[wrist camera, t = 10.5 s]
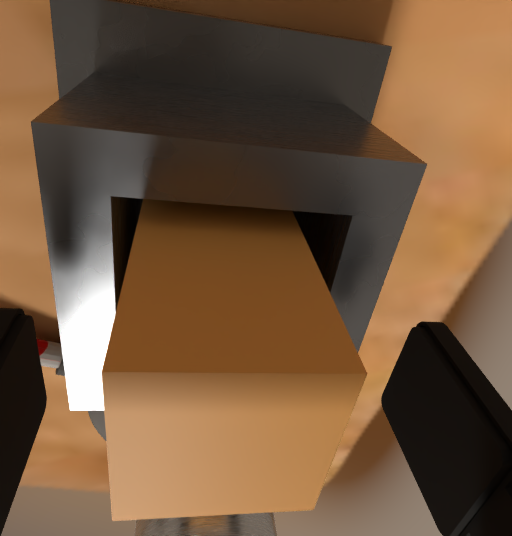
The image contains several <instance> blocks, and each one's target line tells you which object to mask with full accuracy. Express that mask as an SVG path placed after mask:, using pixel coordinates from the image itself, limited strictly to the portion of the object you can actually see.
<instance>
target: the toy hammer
mask: <svg viewBox="0 0 512 536" xmlns="http://www.w3.org/2000/svg"><path fill="white" fill-rule="evenodd" d="M37 345H38V350H39V356H40V362H41V366H46V367H52V368H56V375H62V376H65V369H64V362H63V355H62V347H61V343H56V342H51V341H46V340H41V339H37Z"/></svg>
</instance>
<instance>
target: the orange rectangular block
mask: <svg viewBox="0 0 512 536" xmlns="http://www.w3.org/2000/svg"><path fill="white" fill-rule="evenodd" d="M101 373H102V387H103V401H104V414H105V428H106V442H107V455H108V469H109V483H110V496H111V510H112V521H123V520H141V519H159V518H177V517H195V516H213V515H231V514H249V513H267V512H285V511H303V510H314V507H315V504H316V502H317V499H318V497H319V494H320V492H321V489H322V487H323V484H324V482H325V479H326V477H327V474H328V472H329V469H330V467H331V464H332V462H333V459H334V457H335V454H336V451H337V449H338V446H339V444H340V441H341V439H342V436H343V434H344V431H345V429H346V426H347V424H348V421H349V419H350V416H351V414H352V411H353V409H354V406H355V404H356V401H357V398H358V396H359V393H360V391H361V388H362V386H363V383H364V381H365V378H366V376H367V372H366V370H365V368H364V366H363V363H362V361H361V359H360V357H359V355H358V353H357V350H356V348H355V346H354V344H353V342H352V339H351V337H350V335H349V333H348V331H347V329H346V326H345V324H344V322H343V320H342V318H341V316H340V313H339V311H338V309H337V307H336V305H335V303H334V300H333V298H332V296H331V294H330V292H329V290H328V287H327V285H326V283H325V281H324V279H323V277H322V274H321V272H320V270H319V268H318V266H317V264H316V261H315V259H314V257H313V255H312V253H311V251H310V248H309V246H308V244H307V242H306V240H305V237H304V235H303V233H302V231H301V229H300V227H299V224H298V222H297V220H296V218H295V216H294V214H293V211H290V210H278V209H265V208H253V207H240V206H228V205H215V204H203V203H190V202H178V201H165V200H153V199H143V202H142V206H141V210H140V214H139V219H138V223H137V227H136V231H135V235H134V239H133V243H132V248H131V252H130V256H129V260H128V264H127V268H126V272H125V277H124V281H123V285H122V289H121V293H120V297H119V301H118V306H117V310H116V314H115V318H114V322H113V326H112V330H111V334H110V339H109V343H108V347H107V351H106V355H105V359H104V363H103V368H102V372H101Z"/></svg>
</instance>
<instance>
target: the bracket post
mask: <svg viewBox="0 0 512 536" xmlns="http://www.w3.org/2000/svg"><path fill="white" fill-rule="evenodd" d="M50 8H51V19H52V29H53V39H54V49H55V59H56V69H57V80H58V90H59V100H58V101H57V102H55V103H54V104H53V105H51V106H50V107H49V108H48V109H46V110H45V111H44V112H42V113H41V114H40V115H39V116H37V117H36V118H35V119H34V120H32V121H31V126H32V134H33V141H34V148H35V156H36V163H37V170H38V178H39V185H40V193H41V200H42V207H43V215H44V222H45V229H46V237H47V244H48V251H49V259H50V266H51V274H52V281H53V288H54V296H55V303H56V310H57V318H58V325H59V332H60V340H61V347H62V355H63V362H64V369H65V377H66V384H67V391H68V399H69V406H70V410H88V413H89V416H90V419H91V421H92V423H93V425H94V427H95V428H96V430H97V431H98V433H99V434H100V435H101V436H102V437H103V438H104V439H105V440H106V428H105V414H104V401H103V387H102V373H101V372H102V368H103V363H104V359H105V355H106V351H107V347H108V343H109V339H110V334H111V330H112V326H113V322H114V318H115V314H116V310H117V306H118V301H119V297H120V293H121V289H122V285H123V281H124V277H125V272H126V268H127V264H128V260H129V256H130V252H131V248H132V243H133V239H134V235H135V231H136V227H137V223H138V219H139V214H140V210H141V206H142V202H143V199H153V200H165V201H178V202H190V203H203V204H215V205H228V206H240V207H253V208H265V209H278V210H290V211H293V214H294V216H295V218H296V220H297V222H298V224H299V227H300V229H301V231H302V233H303V235H304V237H305V240H306V242H307V244H308V246H309V248H310V251H311V253H312V255H313V257H314V259H315V261H316V264H317V266H318V268H319V270H320V272H321V274H322V277H323V279H324V281H325V283H326V285H327V287H328V290H329V292H330V294H331V296H332V298H333V300H334V303H335V305H336V307H337V309H338V311H339V313H340V316H341V318H342V320H343V322H344V324H345V326H346V329H347V331H348V333H349V335H350V337H351V339H352V342H353V344H354V346H355V348H356V350H357V353H358V351H359V348H360V346H361V343H362V340H363V338H364V335H365V332H366V329H367V327H368V324H369V321H370V319H371V316H372V313H373V310H374V308H375V305H376V302H377V299H378V297H379V294H380V291H381V289H382V286H383V283H384V280H385V278H386V275H387V272H388V270H389V267H390V264H391V261H392V259H393V256H394V253H395V250H396V248H397V245H398V242H399V240H400V237H401V234H402V231H403V229H404V226H405V223H406V221H407V218H408V215H409V212H410V210H411V207H412V204H413V201H414V199H415V196H416V193H417V191H418V188H419V185H420V182H421V180H422V177H423V174H424V172H425V169H426V166H427V164H426V163H425V162H423V161H422V160H421V159H419V158H418V157H417V156H415V155H414V154H412V153H411V152H410V151H408V150H407V149H405V148H404V147H403V146H401V145H400V144H399V143H397V142H396V141H394V140H393V139H392V138H390V137H389V136H387V135H386V134H385V133H383V132H382V131H381V130H379V129H378V128H376V127H375V126H374V125H372V124H371V120H372V117H373V113H374V109H375V106H376V102H377V99H378V95H379V92H380V88H381V84H382V81H383V77H384V74H385V70H386V67H387V63H388V59H389V56H390V52H391V49H392V46H388V45H384V44H380V43H376V42H370V41H364V40H357V39H351V38H345V37H339V36H333V35H326V34H320V33H314V32H308V31H302V30H296V29H289V28H283V27H277V26H271V25H265V24H258V23H252V22H246V21H240V20H234V19H227V18H221V17H215V16H209V15H203V14H197V13H190V12H184V11H178V10H172V9H166V8H159V7H153V6H147V5H141V4H135V3H128V2H122V1H116V0H50ZM135 536H277V533H276V527H275V520H274V514H273V512H267V513H249V514H231V515H213V516H195V517H177V518H159V519H141V520H136V528H135Z"/></svg>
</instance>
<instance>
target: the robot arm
mask: <svg viewBox="0 0 512 536" xmlns="http://www.w3.org/2000/svg"><path fill="white" fill-rule="evenodd" d="M46 401H47V397H46V390H45V385H44V379H43V373H42V367H41V362H40V356H39V350H38V345H37V339H36V333H35V328H34V322H33V318H32V316H29V315H25V314H24V311H23V310H22V309H12V308H0V536H1V533H2V531H3V528H4V525H5V522H6V519H7V517H8V514H9V511H10V508H11V505H12V502H13V499H14V497H15V494H16V491H17V488H18V486H19V483H20V480H21V477H22V474H23V471H24V469H25V466H26V463H27V460H28V457H29V454H30V452H31V449H32V446H33V443H34V440H35V438H36V435H37V432H38V429H39V426H40V423H41V421H42V418H43V415H44V412H45V408H46ZM381 401H382V407H383V410H384V412H385V414H386V417H387V419H388V421H389V423H390V425H391V427H392V430H393V432H394V434H395V436H396V438H397V440H398V443H399V445H400V447H401V449H402V451H403V454H404V456H405V458H406V460H407V462H408V464H409V467H410V469H411V471H412V473H413V475H414V477H415V480H416V482H417V484H418V486H419V488H420V490H421V493H422V495H423V497H424V499H425V501H426V503H427V506H428V508H429V510H430V512H431V514H432V516H433V519H434V521H435V523H436V525H437V528H438V529H439V531H440V533H441V534H442V535H443V536H512V410H511V409H510V408H509V407H508V405H507V404H506V403H505V401H504V400H503V399H502V397H501V396H500V395H499V393H498V392H497V391H496V390H495V388H494V387H493V386H492V384H491V383H490V382H489V380H488V379H487V378H486V376H485V375H484V374H483V373H482V371H481V370H480V369H479V367H478V366H477V365H476V363H475V362H474V361H473V360H472V358H471V357H470V356H469V354H468V353H467V352H466V350H465V349H464V348H463V346H462V345H461V344H460V343H459V341H458V340H457V339H456V337H455V336H454V335H453V333H452V332H451V331H450V330H449V328H448V327H447V326H446V325H445V324H444V323H442V322H420V323H418V324H417V326H416V327H413V328H412V329H411V331H410V333H409V335H408V337H407V340H406V342H405V344H404V347H403V349H402V351H401V353H400V356H399V358H398V360H397V362H396V365H395V367H394V369H393V371H392V374H391V376H390V378H389V381H388V383H387V385H386V387H385V390H384V392H383V394H382V400H381Z"/></svg>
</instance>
